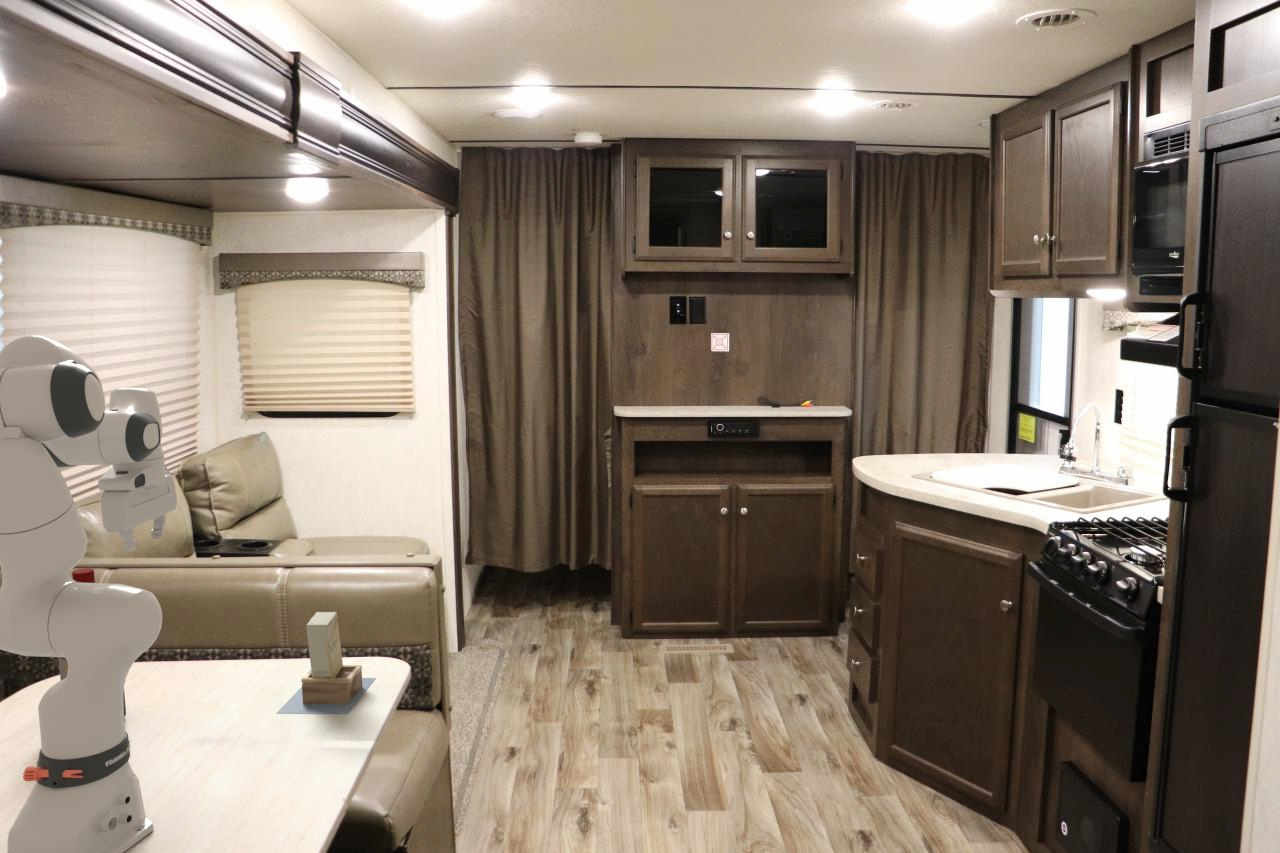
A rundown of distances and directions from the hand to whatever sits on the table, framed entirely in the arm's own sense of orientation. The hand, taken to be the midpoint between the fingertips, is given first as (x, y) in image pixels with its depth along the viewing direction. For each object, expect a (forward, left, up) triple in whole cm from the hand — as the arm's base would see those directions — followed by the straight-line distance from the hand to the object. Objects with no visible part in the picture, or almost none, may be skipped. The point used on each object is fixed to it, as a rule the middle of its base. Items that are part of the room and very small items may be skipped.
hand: (144, 544), depth 191 cm
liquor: (-4, +10, -34) cm, 36 cm away
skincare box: (+8, -31, -29) cm, 43 cm away
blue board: (+8, -31, -34) cm, 47 cm away
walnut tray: (+8, -32, -33) cm, 47 cm away
